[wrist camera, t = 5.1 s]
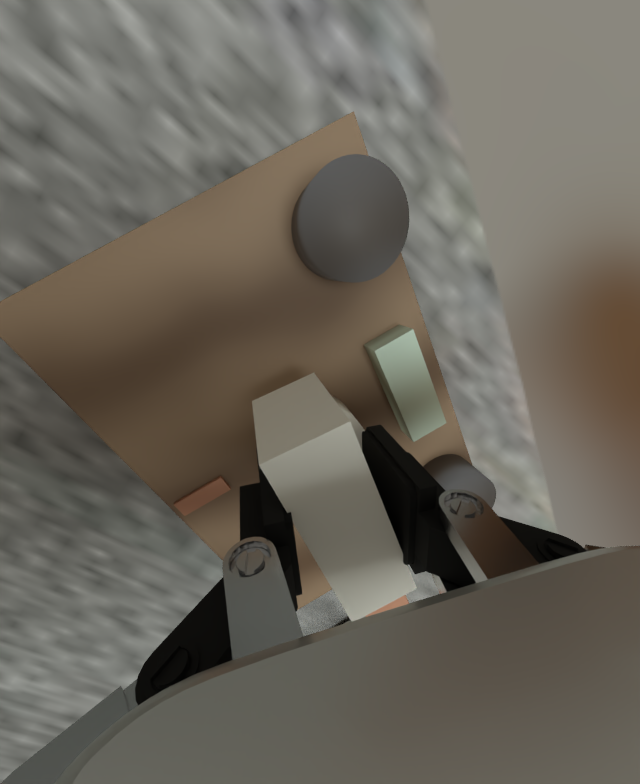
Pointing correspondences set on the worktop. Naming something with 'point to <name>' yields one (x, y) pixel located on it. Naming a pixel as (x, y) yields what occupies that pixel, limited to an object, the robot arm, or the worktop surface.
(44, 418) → the worktop surface
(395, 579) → the wing knob
